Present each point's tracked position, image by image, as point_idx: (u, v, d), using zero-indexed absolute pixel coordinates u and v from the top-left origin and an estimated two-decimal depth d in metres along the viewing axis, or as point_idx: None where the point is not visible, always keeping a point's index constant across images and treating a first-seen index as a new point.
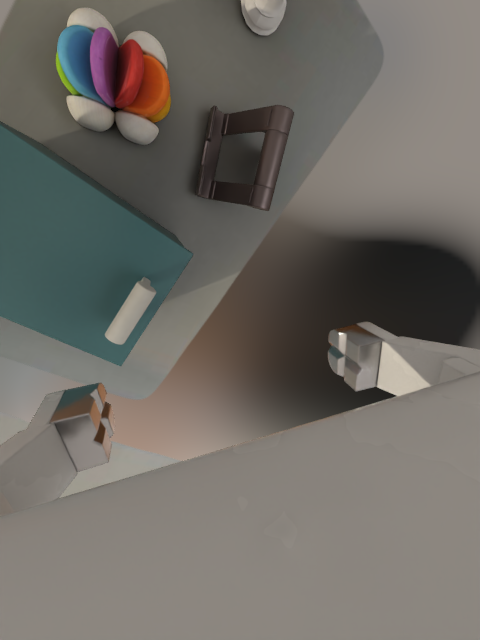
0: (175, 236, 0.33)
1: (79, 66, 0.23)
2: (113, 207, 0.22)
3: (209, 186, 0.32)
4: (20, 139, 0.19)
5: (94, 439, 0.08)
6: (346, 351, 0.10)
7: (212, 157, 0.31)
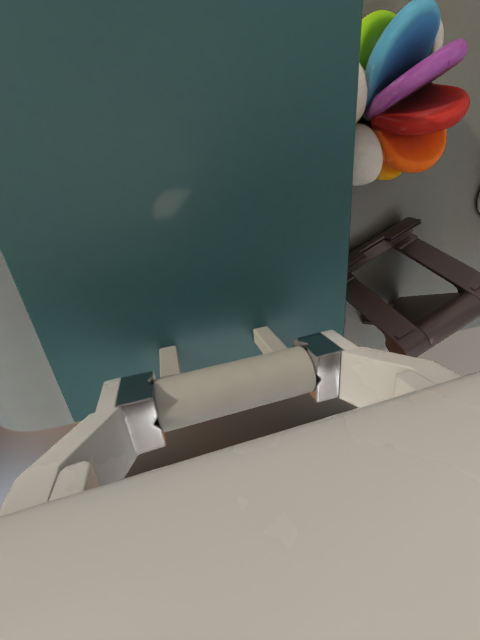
0: None
1: (403, 44, 0.15)
2: (342, 207, 0.11)
3: None
4: None
5: (154, 423, 0.08)
6: None
7: (371, 255, 0.24)
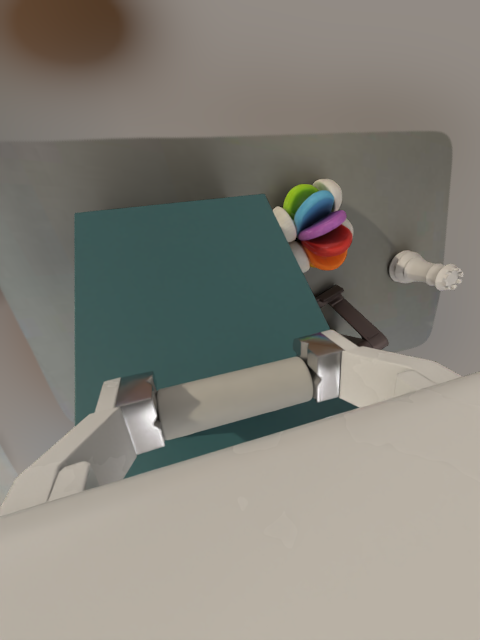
0: None
1: (312, 211, 0.28)
2: (308, 300, 0.16)
3: None
4: (275, 219, 0.19)
5: (153, 423, 0.08)
6: (307, 361, 0.09)
7: None
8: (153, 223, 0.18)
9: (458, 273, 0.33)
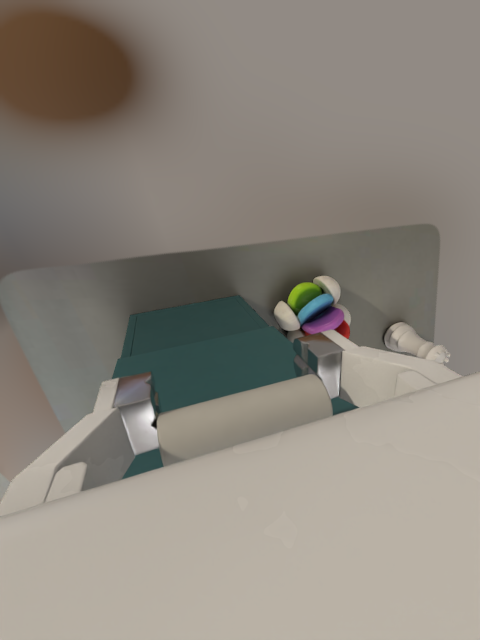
0: None
1: (314, 311, 0.31)
2: None
3: None
4: (285, 337, 0.21)
5: (152, 424, 0.08)
6: (308, 361, 0.09)
7: None
8: (180, 355, 0.21)
9: (446, 353, 0.36)
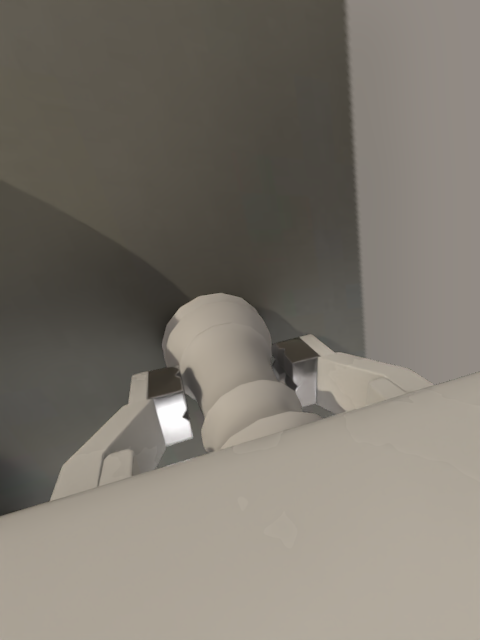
0: None
1: None
2: None
3: None
4: None
5: (183, 415, 0.08)
6: (284, 367, 0.09)
7: None
8: None
9: None
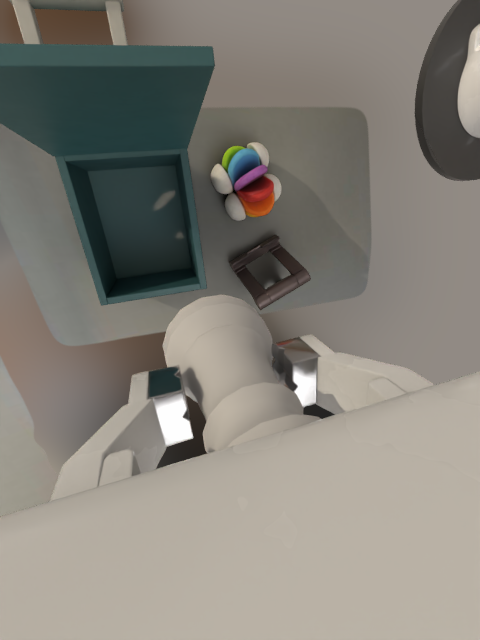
0: None
1: (240, 165, 0.36)
2: None
3: (240, 266, 0.45)
4: None
5: (183, 415, 0.08)
6: (284, 366, 0.09)
7: (255, 255, 0.45)
8: None
9: None
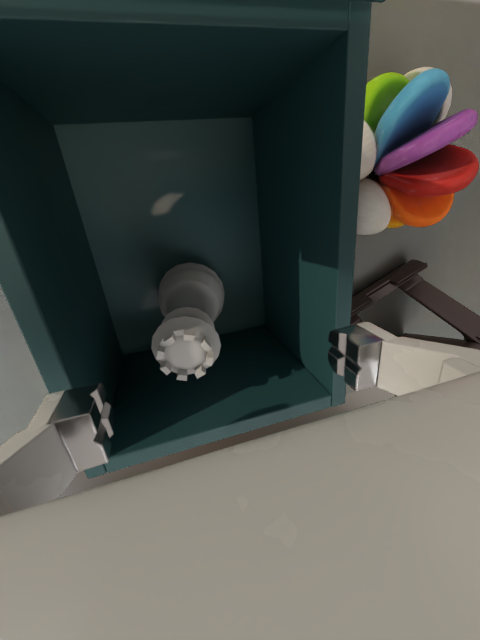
0: None
1: (413, 111, 0.15)
2: None
3: None
4: None
5: (94, 439, 0.08)
6: (346, 351, 0.10)
7: (377, 297, 0.24)
8: None
9: (201, 341, 0.13)
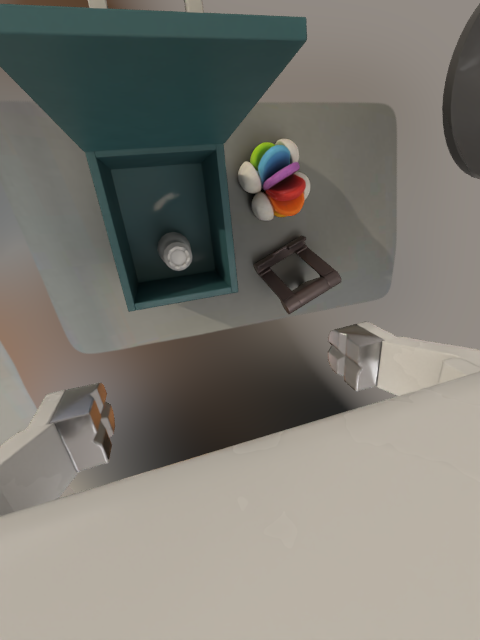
0: None
1: (271, 162, 0.34)
2: None
3: (265, 268, 0.43)
4: None
5: (94, 439, 0.08)
6: (346, 351, 0.10)
7: (280, 256, 0.43)
8: None
9: (184, 251, 0.32)
